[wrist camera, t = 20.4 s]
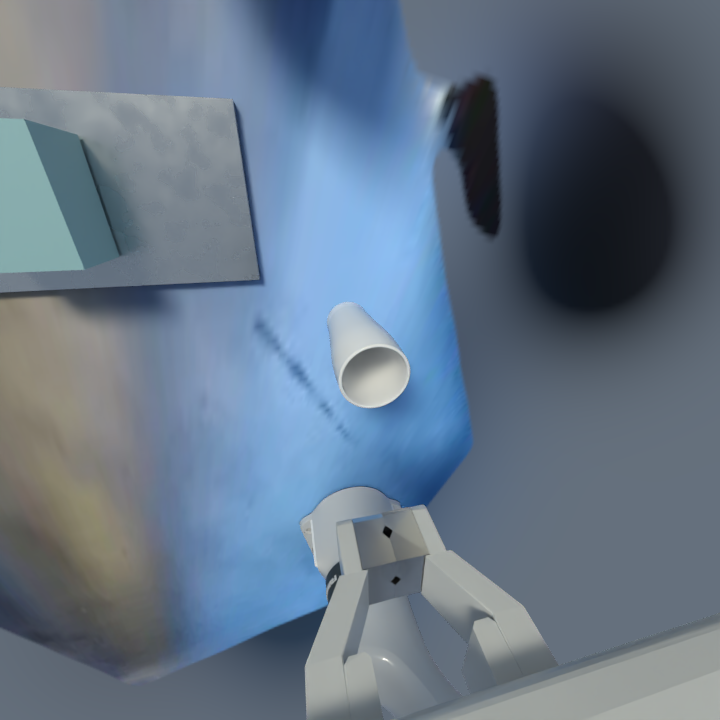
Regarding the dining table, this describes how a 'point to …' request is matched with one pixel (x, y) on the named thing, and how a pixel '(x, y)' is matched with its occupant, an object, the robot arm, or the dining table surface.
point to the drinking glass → (365, 358)
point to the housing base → (152, 186)
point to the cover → (48, 202)
